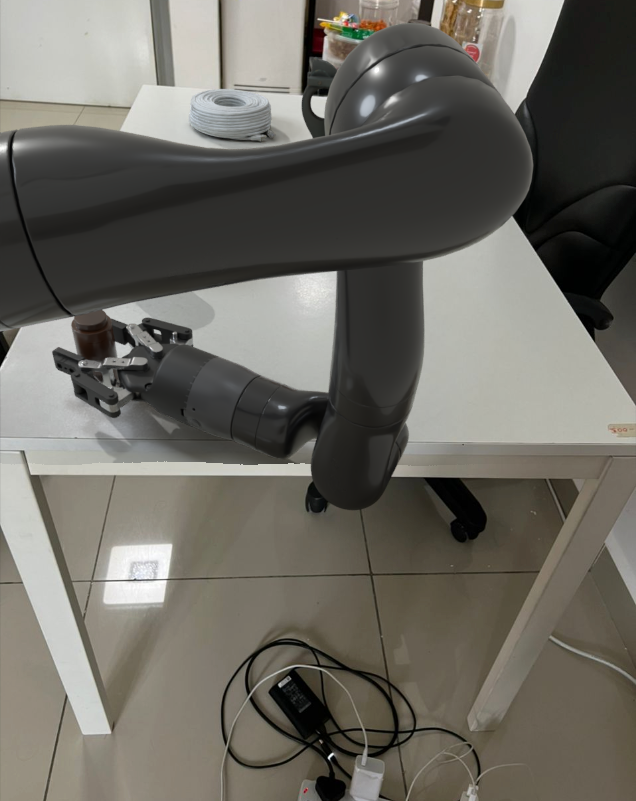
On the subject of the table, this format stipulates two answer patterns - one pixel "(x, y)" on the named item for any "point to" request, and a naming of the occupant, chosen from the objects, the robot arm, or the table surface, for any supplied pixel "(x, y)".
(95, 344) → the pepper mill
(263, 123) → the cable
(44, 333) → the table surface
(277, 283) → the table surface
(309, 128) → the beer stein
